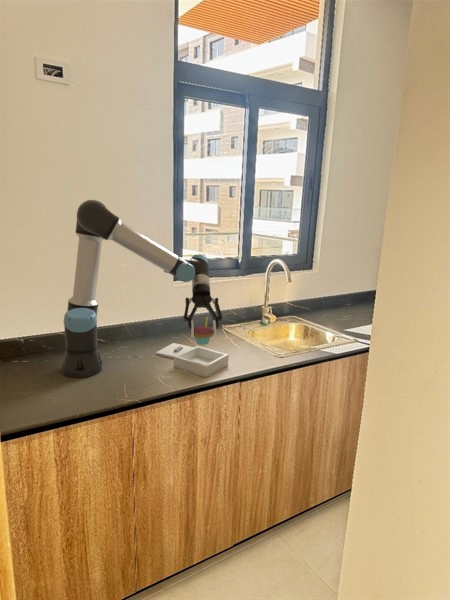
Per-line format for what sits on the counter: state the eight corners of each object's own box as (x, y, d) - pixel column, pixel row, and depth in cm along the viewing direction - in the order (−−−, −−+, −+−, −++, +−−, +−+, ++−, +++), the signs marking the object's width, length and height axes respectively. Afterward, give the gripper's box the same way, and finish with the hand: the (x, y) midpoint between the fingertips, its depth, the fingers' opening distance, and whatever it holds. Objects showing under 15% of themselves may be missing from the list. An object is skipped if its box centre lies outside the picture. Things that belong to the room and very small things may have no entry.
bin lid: (183, 360, 174) (184, 356, 174) (156, 354, 180) (156, 350, 179) (199, 350, 187) (199, 346, 186) (173, 344, 192) (173, 340, 192)
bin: (205, 378, 159) (206, 366, 158) (173, 367, 167) (173, 356, 166) (228, 365, 172) (228, 354, 171) (197, 356, 180) (197, 345, 179)
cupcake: (215, 341, 170) (216, 313, 167) (209, 348, 162) (210, 319, 159) (195, 338, 172) (196, 310, 169) (188, 345, 164) (189, 316, 161)
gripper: (224, 292, 179) (228, 339, 168) (175, 292, 176) (176, 340, 165) (226, 282, 173) (231, 331, 162) (176, 282, 170) (177, 332, 158)
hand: (204, 335), depth 163 cm, fingers closed on cupcake, 8 cm apart
